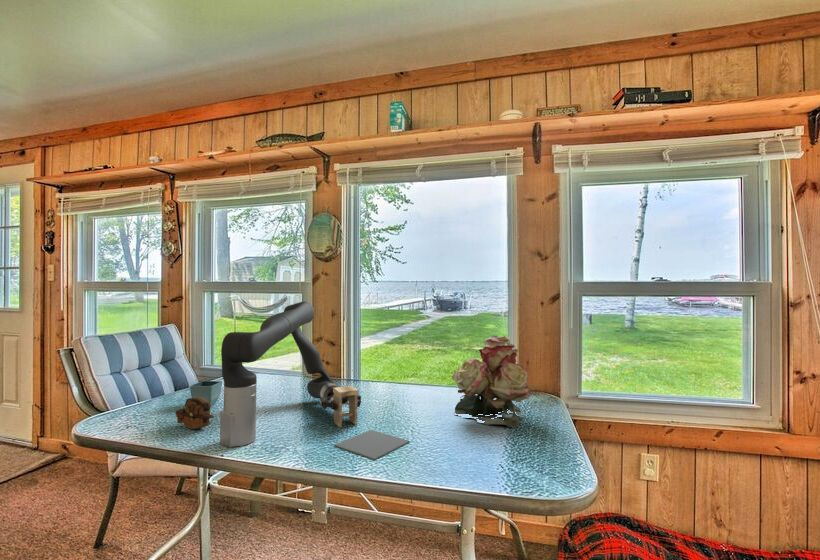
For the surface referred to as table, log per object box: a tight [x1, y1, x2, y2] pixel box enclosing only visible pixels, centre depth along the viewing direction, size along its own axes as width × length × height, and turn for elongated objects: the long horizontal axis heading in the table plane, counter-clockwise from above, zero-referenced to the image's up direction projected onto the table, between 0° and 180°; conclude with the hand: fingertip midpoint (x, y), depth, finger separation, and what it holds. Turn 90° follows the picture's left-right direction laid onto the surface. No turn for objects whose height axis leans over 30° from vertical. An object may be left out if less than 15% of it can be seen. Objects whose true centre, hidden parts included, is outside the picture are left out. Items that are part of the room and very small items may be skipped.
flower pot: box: [189, 380, 223, 407], centre depth 156 cm, size 9×9×9 cm
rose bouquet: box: [451, 334, 532, 429], centre depth 144 cm, size 26×29×30 cm
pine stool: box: [333, 385, 360, 429], centre depth 135 cm, size 7×7×12 cm
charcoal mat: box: [334, 429, 411, 461], centre depth 117 cm, size 16×16×1 cm
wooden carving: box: [175, 397, 215, 430], centre depth 130 cm, size 16×5×10 cm, turn 70°
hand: (347, 405), depth 134 cm, fingers open, 8 cm apart
